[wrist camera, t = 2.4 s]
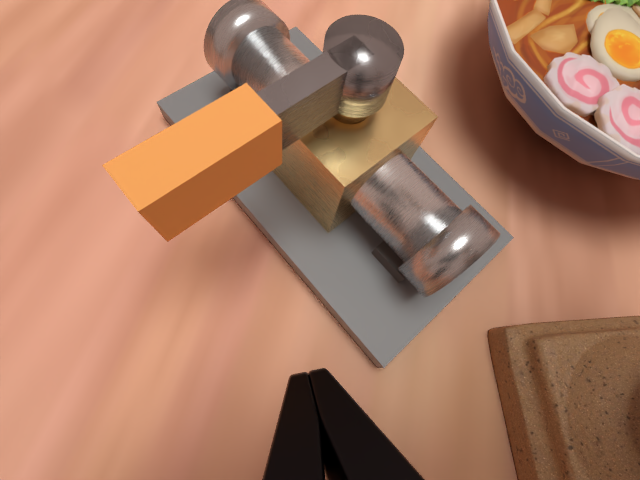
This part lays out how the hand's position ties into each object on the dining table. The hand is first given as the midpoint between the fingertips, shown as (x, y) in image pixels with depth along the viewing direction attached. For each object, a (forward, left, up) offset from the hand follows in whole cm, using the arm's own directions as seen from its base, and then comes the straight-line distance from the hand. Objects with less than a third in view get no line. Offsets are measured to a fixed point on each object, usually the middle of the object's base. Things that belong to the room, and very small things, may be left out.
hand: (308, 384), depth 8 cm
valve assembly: (+5, -11, -13) cm, 18 cm away
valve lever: (+6, -7, -4) cm, 10 cm away
